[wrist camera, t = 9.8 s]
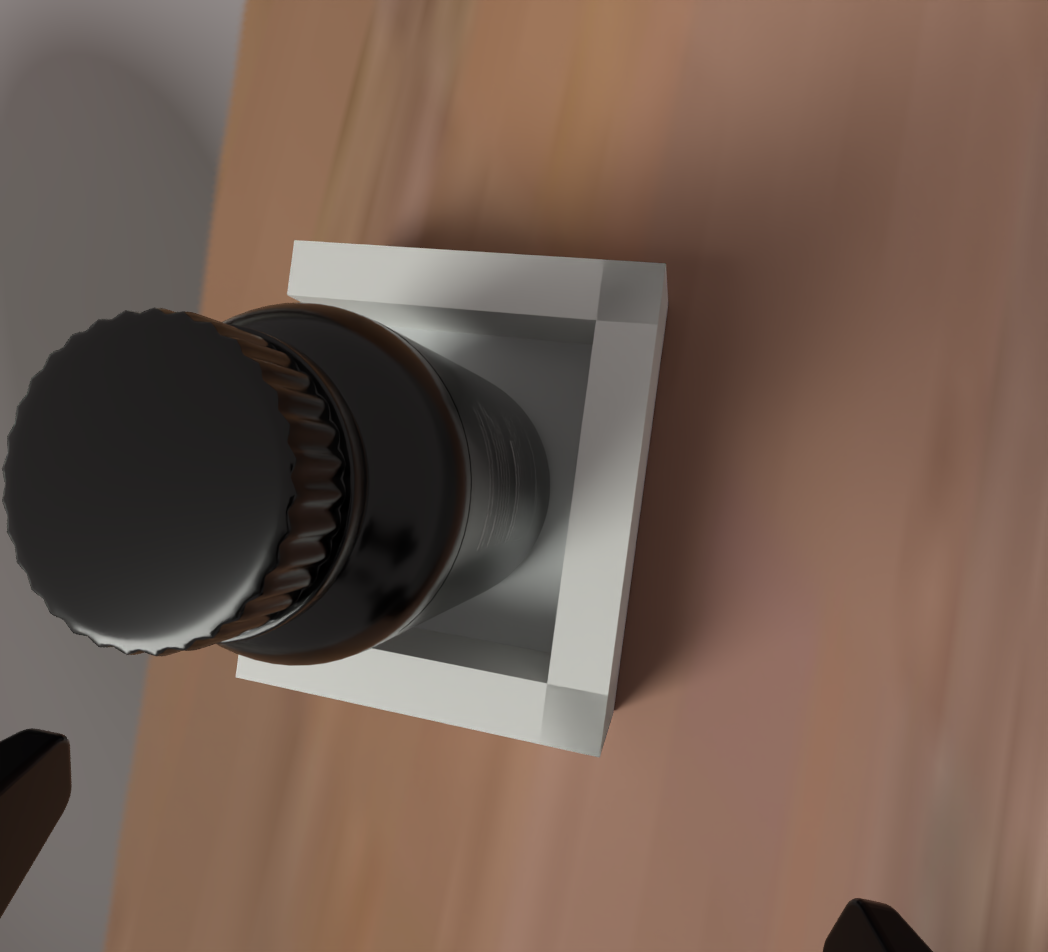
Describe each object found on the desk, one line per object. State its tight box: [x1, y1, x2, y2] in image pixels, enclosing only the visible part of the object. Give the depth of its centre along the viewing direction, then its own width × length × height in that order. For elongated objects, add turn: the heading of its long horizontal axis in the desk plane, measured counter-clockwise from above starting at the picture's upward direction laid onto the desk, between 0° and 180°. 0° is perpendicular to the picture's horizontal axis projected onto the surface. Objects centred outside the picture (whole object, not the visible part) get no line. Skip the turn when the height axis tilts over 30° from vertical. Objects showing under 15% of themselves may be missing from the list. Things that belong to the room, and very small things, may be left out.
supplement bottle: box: [2, 303, 550, 666], centre depth 15 cm, size 7×7×12 cm
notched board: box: [236, 240, 668, 757], centre depth 20 cm, size 10×12×4 cm
